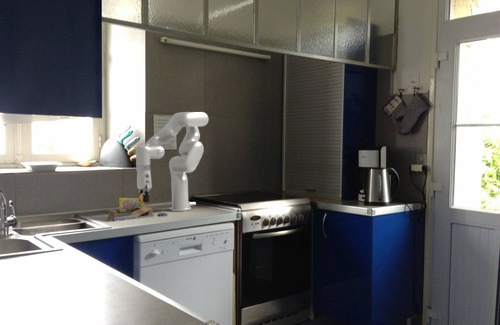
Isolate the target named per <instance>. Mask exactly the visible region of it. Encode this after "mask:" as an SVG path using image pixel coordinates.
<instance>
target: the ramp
mask: <svg viewBox="0 0 500 325" xmlns="http://www.w3.org/2000/svg"><path fill="white" fill-rule="evenodd" d="M153 210H154V207H153V206H152V205H151V206H150V205H148V204H146V205H145V206H143V207H142V208H140V209H138V210H136V211H134V212H130V213H129V216H130V215H135V217H138V216H140V215H142V214H145V215H148V216H149V215H154V214H153ZM107 212H108V213H107V215H108V216H109V218H110V219H113V220H114V218H115V219H116V218H117V215H118V211H117V210H114V209H108V210H107ZM110 219H109V220H110ZM113 220H112V221H113Z"/></svg>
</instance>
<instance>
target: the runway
mask: <svg viewBox="0 0 500 325" xmlns="http://www.w3.org/2000/svg"><path fill="white" fill-rule="evenodd" d="M129 214H130V212H125V213H119V214H118V213H117V218H116V219H115V218H114V221H113V219H112V220H111V221H113V222H116V221H115V220H119V221H126V220H125V219H127V220H132V219H133V220H134V219H141V218H142V219H143V218H149V217H154V216H155V215H154V214H153V215H149V216H148V215H145V214H142V215H140V216H138V217H135V215H130V216H129ZM108 218H109V216H108ZM108 220H110V218H109V219H108Z"/></svg>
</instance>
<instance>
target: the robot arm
mask: <svg viewBox="0 0 500 325" xmlns="http://www.w3.org/2000/svg"><path fill="white" fill-rule="evenodd" d="M209 121H210V120H209V116H208V114H207V113H206V112H204V111H192V112H191V111H184V112H183V111H182V112H176V113H174V114H173V115H172V116H171V118H170V119H169V120H168V121H167V123H165V125H164V127H163V128H162V129H160V130H159V131H158V132H156V133H155V134H154V135H153V136H151V137H150V138H149V139H148V140H147V141H146V142H145V143H144V145H138V146H136V147H135V157H136V158H135V160H136V162H135V164H136V165H135V166H136V168H135V169H136V170H135V171H136V172H137V173H136V187H137V190H138V197H139V196H140V194H141V193H144V195H143V202H145V203H149V202H150V191H151V189H152V187H153V186H152V185H153V184H152V172H151V160H159V159H162V158H163V157H164V156H165V153H166V152H165V148H164V147H162V145H164V144H166V143H168V142H171V141H173V140H174V139H175V138H176V137H177V135H178V134H179V132H180V131H181V130H182V129H183V128H186V133H185V136H184V137H183V139H182V141H181V143H180V146H179V148H178V154H180V155H176V156H173V157H171V159H170V160H169V162H168V163H169V164H168V167H169V172H170V177H171V178H170V180H171V207H169V211H172V212H184V211H190V210H192V207H191V206H196V205H197V203H196V201H192V202H191V201H189V181H188V175H187V173H189V174H190V173H193V172H194V171H195V170H197V167H198V165H199V163H200V161H201V159H202V156H203V154H204V149H205V148H204V145H203V143H202V142H201V141H200V138H201V134H200V130H199V128H198V127H200V128H201V127H205V126H207V125H208V123H209ZM139 201H140V199H139Z"/></svg>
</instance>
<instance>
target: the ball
mask: <svg viewBox="0 0 500 325" xmlns="http://www.w3.org/2000/svg"><path fill="white" fill-rule="evenodd" d="M143 195H144V193H141V194H140V196H139V195H138V198H139V199H140V201H142V202H143Z"/></svg>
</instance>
